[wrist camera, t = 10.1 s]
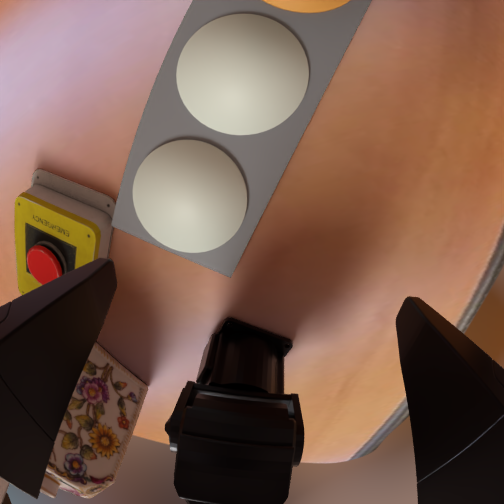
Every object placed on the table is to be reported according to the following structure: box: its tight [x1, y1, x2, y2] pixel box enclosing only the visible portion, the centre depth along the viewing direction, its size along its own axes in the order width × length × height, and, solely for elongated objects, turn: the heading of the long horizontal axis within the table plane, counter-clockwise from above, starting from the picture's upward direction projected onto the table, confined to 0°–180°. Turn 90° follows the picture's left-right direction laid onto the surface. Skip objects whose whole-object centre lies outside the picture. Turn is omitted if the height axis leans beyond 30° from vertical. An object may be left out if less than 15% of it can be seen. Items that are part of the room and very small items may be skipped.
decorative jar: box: [40, 342, 148, 498], centre depth 24 cm, size 12×12×18 cm
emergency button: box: [15, 169, 116, 295], centre depth 23 cm, size 9×4×15 cm
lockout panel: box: [111, 0, 372, 278], centre depth 17 cm, size 10×27×1 cm, turn 156°
